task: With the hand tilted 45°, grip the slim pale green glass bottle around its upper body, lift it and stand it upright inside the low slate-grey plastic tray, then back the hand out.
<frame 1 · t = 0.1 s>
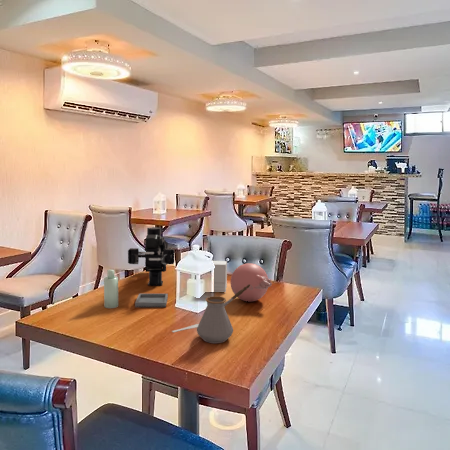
hand: (149, 261, 161), 17 cm above the table, tool horizontal, fingers open, 9 cm apart
supplement box: (217, 290, 180), on the table
slate tray: (152, 302, 162), on the table
butter knife: (170, 334, 133), on the table
glass bottle: (111, 305, 157), on the table
coffee pot: (226, 335, 133), on the table
pomegranate: (252, 302, 165), on the table
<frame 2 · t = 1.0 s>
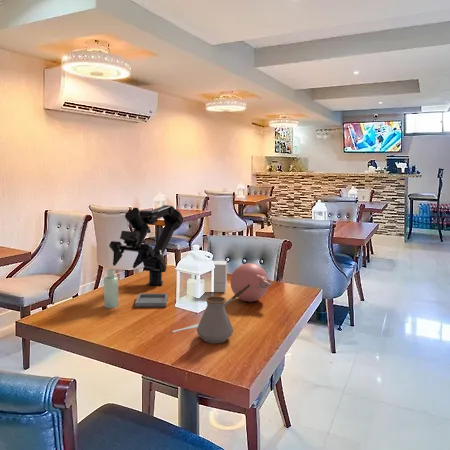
hand: (123, 266, 163), 14 cm above the table, tool tilted 45°, fingers open, 9 cm apart
nothing on the table moved.
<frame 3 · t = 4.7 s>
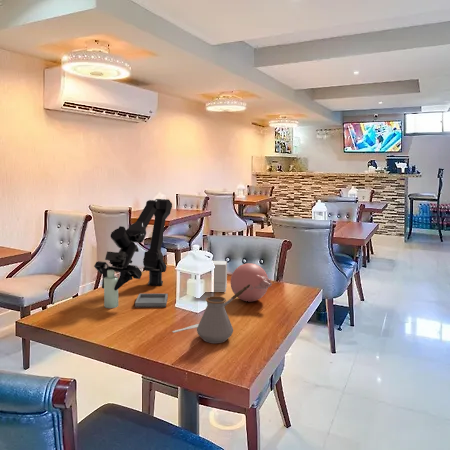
hand: (108, 288, 155), 7 cm above the table, tool tilted 45°, fingers closed on glass bottle, 5 cm apart
glass bottle: (111, 305, 157), on the table, touching gripper
everything else where it was.
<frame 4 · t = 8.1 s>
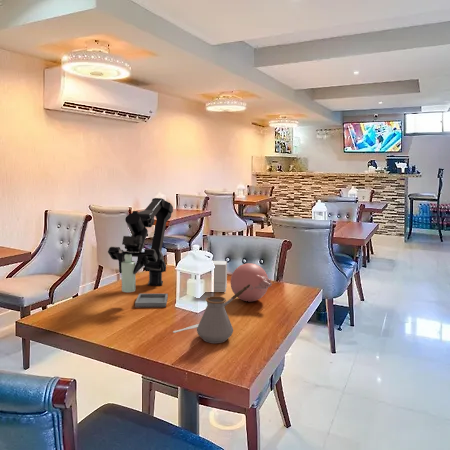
hand: (127, 273, 155), 13 cm above the table, tool tilted 45°, fingers closed on glass bottle, 5 cm apart
glass bottle: (128, 290, 158), point 6 cm above the table, touching gripper
everything else where it was.
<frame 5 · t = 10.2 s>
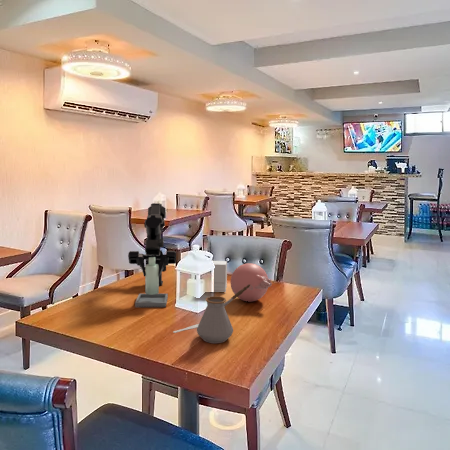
hand: (151, 276, 160), 11 cm above the table, tool tilted 45°, fingers closed on glass bottle, 5 cm apart
glass bottle: (152, 292, 162), point 4 cm above the table, touching gripper
everything else where it was.
when the fingers open (8 cm above the table, at t = 11.8 s): glass bottle stays where it is, resting on slate tray.
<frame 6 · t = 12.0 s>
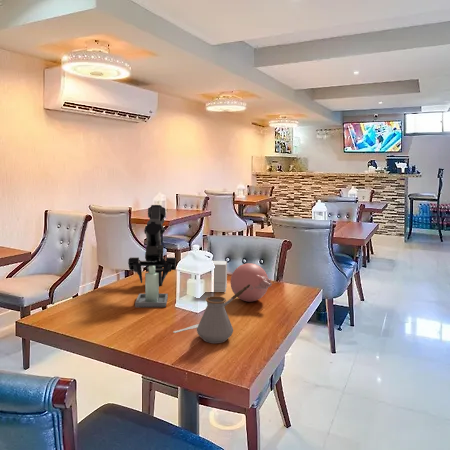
hand: (151, 282, 160), 9 cm above the table, tool tilted 45°, fingers open, 8 cm apart
glass bottle: (152, 300, 162), point 1 cm above the table, touching slate tray
everything else where it was.
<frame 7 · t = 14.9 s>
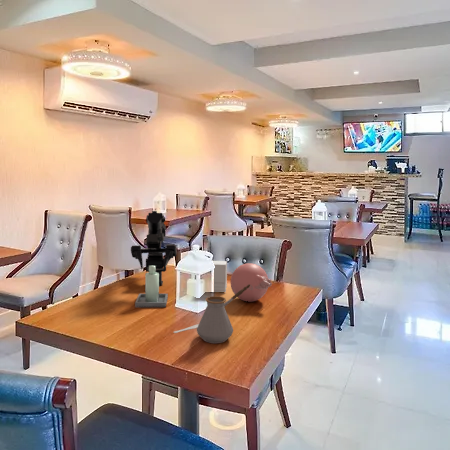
hand: (153, 268, 169), 12 cm above the table, tool tilted 45°, fingers open, 9 cm apart
nothing on the table moved.
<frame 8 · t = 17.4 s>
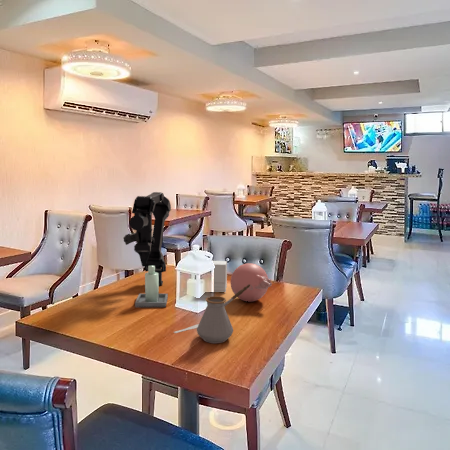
hand: (144, 263, 171), 13 cm above the table, tool pointing down, fingers open, 9 cm apart
nothing on the table moved.
at the end: glass bottle 0.1 cm off-centre on the slate tray, point 0.6 cm above the slate tray's base; glass bottle tilted 1°; the gripper is holding nothing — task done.
